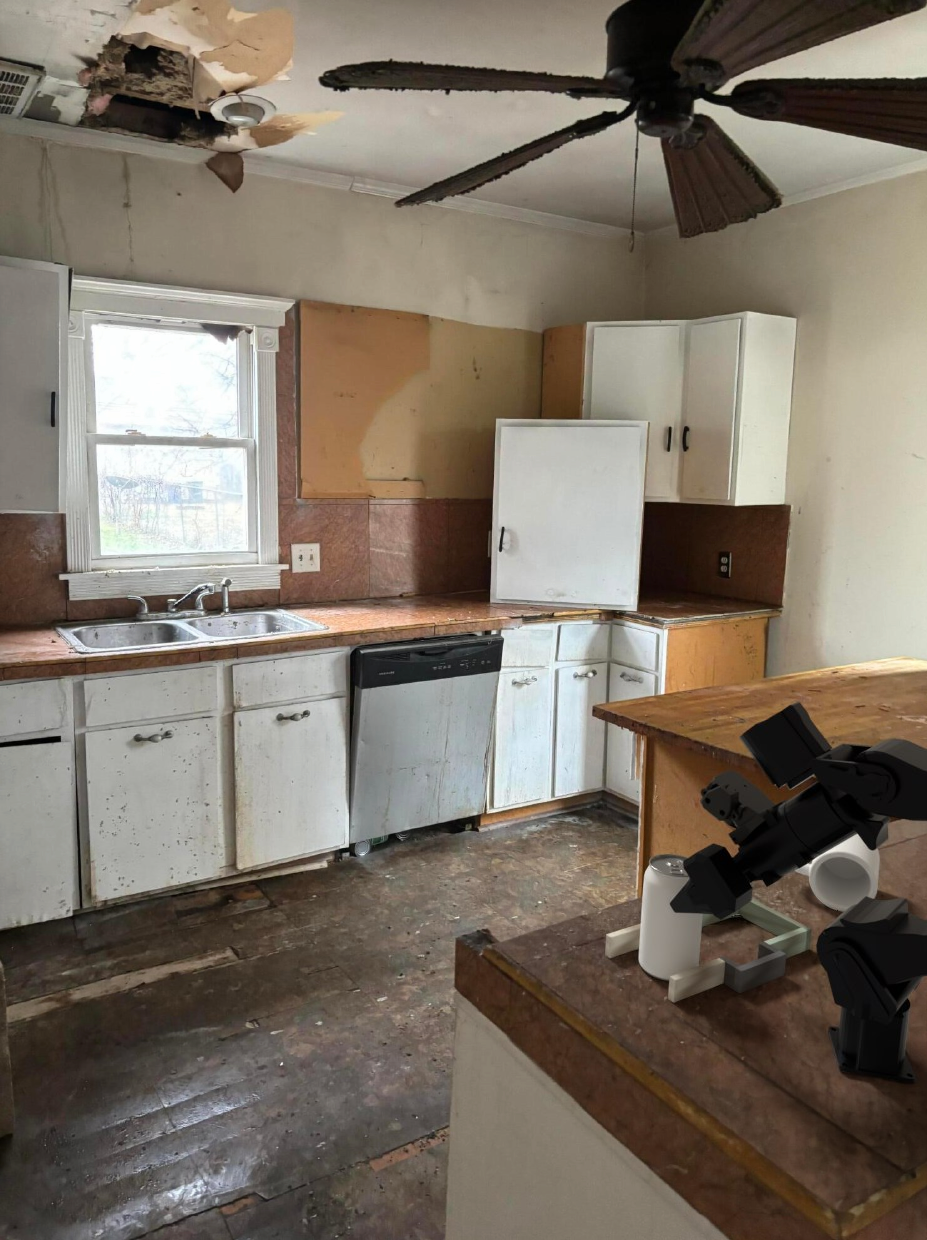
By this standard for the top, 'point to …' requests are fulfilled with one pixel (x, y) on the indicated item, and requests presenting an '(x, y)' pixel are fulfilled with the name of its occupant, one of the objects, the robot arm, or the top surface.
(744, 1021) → the top surface
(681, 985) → the channel
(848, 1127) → the top surface
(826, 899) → the mug
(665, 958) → the can
